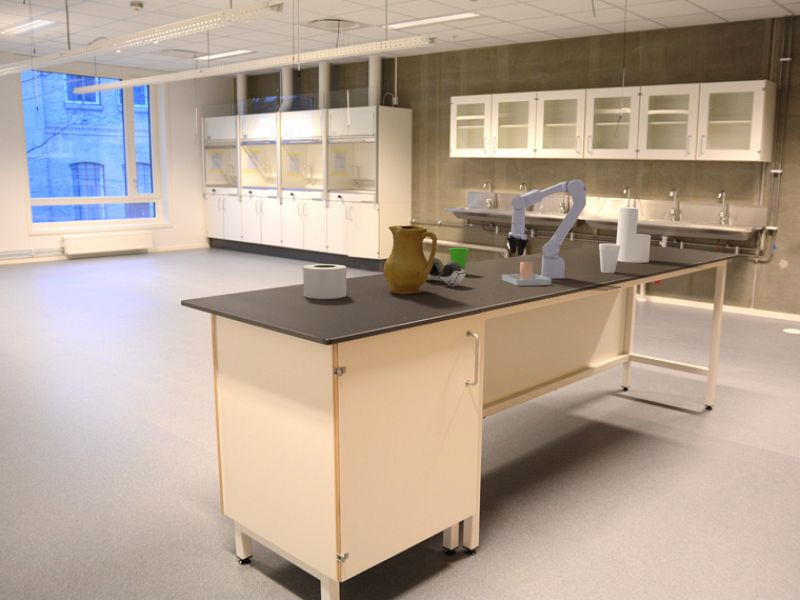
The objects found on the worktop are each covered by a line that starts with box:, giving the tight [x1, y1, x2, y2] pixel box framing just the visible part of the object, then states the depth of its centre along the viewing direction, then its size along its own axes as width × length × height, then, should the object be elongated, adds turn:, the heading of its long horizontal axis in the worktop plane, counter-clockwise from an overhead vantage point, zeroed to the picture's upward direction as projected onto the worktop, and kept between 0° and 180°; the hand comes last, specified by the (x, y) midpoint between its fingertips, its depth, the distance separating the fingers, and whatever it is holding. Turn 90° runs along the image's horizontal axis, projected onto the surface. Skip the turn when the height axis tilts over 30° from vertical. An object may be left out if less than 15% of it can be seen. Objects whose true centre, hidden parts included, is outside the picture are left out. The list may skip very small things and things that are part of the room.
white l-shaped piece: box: [615, 206, 652, 264], centre depth 391 cm, size 17×17×28 cm
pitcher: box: [383, 224, 438, 295], centre depth 275 cm, size 17×19×25 cm
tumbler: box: [519, 261, 534, 280], centre depth 306 cm, size 5×5×8 cm
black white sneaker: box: [426, 257, 468, 288], centre depth 299 cm, size 25×10×10 cm, turn 33°
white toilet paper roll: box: [302, 263, 347, 300], centre depth 265 cm, size 16×15×11 cm
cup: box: [448, 247, 470, 271], centre depth 329 cm, size 9×9×11 cm
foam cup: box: [598, 242, 620, 274], centre depth 344 cm, size 10×9×13 cm
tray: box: [501, 273, 552, 287], centre depth 307 cm, size 15×15×2 cm
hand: (516, 254), depth 327 cm, fingers open, 7 cm apart
